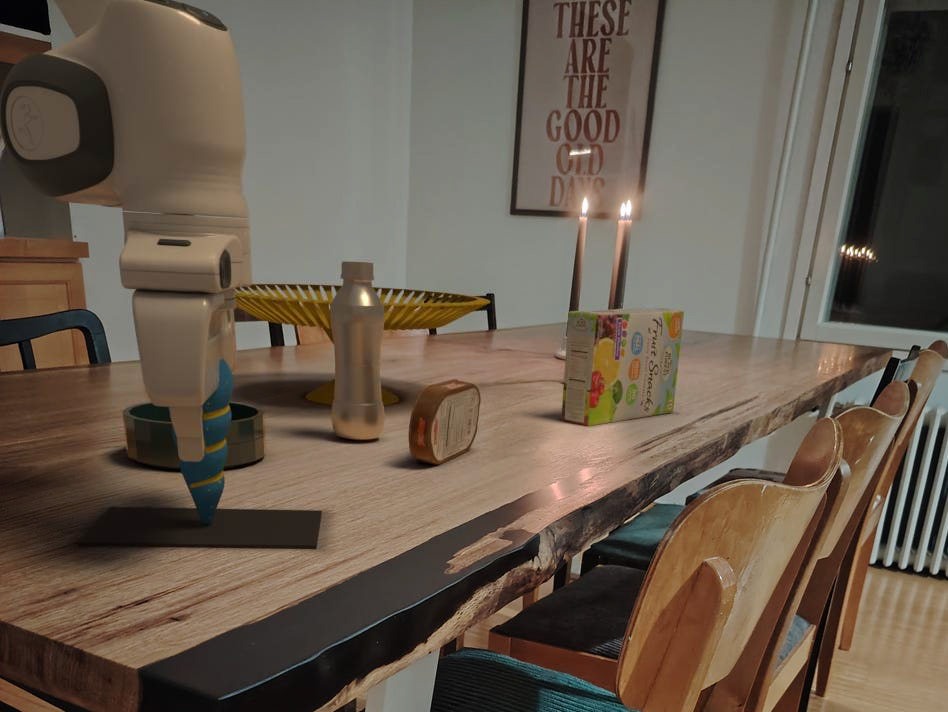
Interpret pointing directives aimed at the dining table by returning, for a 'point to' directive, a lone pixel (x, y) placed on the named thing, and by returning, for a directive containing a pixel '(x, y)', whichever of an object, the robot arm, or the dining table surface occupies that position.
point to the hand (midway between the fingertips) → (202, 446)
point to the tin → (444, 421)
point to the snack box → (620, 364)
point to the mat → (205, 528)
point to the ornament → (211, 449)
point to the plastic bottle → (357, 354)
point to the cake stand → (319, 316)
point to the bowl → (157, 447)
